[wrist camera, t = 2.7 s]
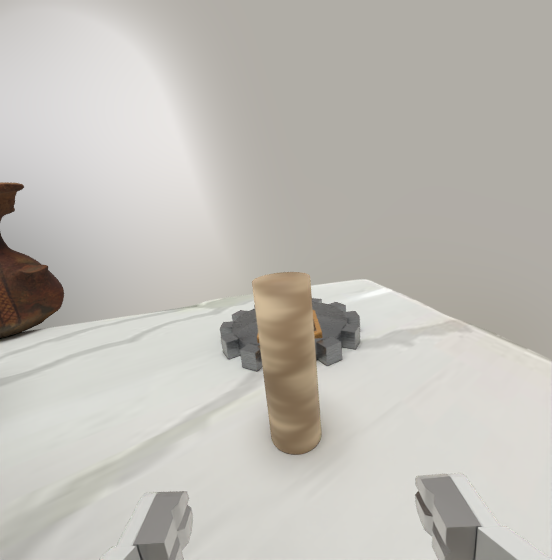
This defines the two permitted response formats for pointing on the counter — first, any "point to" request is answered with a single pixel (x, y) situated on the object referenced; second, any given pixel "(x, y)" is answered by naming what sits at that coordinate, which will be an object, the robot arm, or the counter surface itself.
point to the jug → (23, 281)
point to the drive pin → (288, 359)
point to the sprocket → (327, 332)
